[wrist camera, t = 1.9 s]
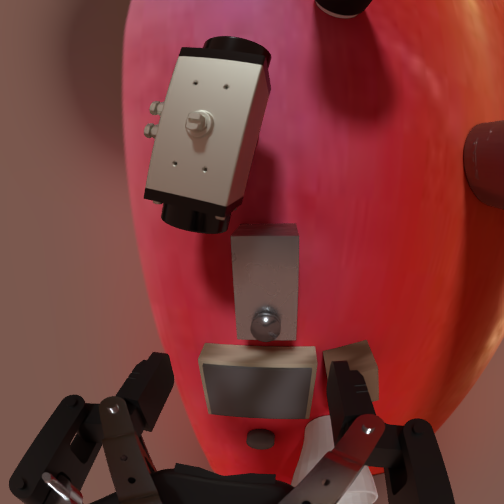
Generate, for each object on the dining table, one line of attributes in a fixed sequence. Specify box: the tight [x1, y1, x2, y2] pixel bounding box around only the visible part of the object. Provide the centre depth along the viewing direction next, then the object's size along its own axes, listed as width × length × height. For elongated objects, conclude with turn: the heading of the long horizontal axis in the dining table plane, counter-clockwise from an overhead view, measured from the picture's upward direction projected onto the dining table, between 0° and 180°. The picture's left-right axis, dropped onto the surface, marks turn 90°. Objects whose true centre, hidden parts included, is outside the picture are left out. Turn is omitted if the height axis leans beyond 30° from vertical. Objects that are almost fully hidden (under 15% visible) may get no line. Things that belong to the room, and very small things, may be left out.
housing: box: [231, 223, 299, 342], centre depth 23 cm, size 9×5×6 cm, turn 2°
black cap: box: [246, 429, 275, 449], centre depth 33 cm, size 4×4×2 cm
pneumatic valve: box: [144, 36, 271, 234], centre depth 17 cm, size 6×12×12 cm, turn 166°
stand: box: [198, 343, 317, 419], centre depth 28 cm, size 12×9×3 cm
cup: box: [291, 415, 378, 504], centre depth 25 cm, size 10×10×14 cm
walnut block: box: [323, 340, 379, 402], centre depth 26 cm, size 5×5×5 cm
